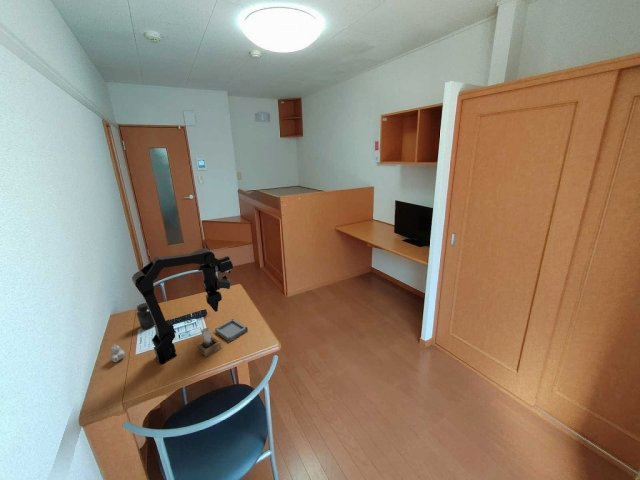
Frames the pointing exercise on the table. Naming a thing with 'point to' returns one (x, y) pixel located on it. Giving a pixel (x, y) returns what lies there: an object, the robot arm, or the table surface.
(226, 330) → the tray
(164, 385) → the table surface
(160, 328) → the robot arm
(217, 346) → the socket
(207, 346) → the pin
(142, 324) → the supplement bottle
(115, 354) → the grey knobbly cluster
